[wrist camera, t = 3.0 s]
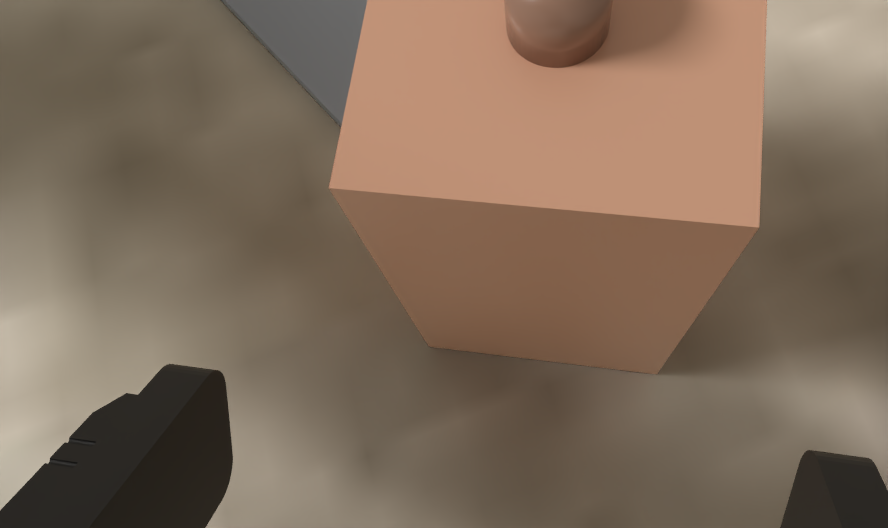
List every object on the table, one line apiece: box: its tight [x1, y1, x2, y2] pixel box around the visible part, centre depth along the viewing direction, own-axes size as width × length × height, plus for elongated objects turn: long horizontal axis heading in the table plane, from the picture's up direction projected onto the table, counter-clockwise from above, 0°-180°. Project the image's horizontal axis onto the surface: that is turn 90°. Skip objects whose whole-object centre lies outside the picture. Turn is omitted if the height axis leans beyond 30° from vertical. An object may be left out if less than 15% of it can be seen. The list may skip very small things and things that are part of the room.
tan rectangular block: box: [329, 0, 767, 374], centre depth 17 cm, size 6×6×12 cm
